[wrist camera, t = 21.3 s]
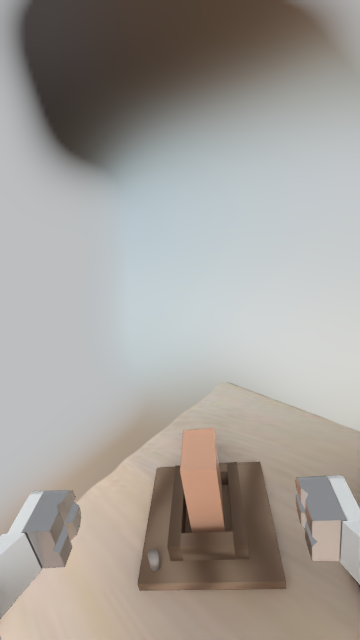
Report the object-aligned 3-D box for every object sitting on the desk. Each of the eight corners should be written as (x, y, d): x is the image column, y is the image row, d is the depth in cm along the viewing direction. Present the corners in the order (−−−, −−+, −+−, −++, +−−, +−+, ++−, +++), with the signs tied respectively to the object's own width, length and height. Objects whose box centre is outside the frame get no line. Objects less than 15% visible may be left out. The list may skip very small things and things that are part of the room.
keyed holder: (260, 467, 48) (259, 448, 47) (286, 588, 34) (285, 565, 32) (158, 473, 50) (154, 455, 49) (139, 590, 35) (133, 569, 34)
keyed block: (222, 491, 44) (214, 428, 40) (225, 537, 38) (216, 469, 34) (194, 492, 45) (183, 430, 41) (193, 538, 39) (180, 471, 35)
